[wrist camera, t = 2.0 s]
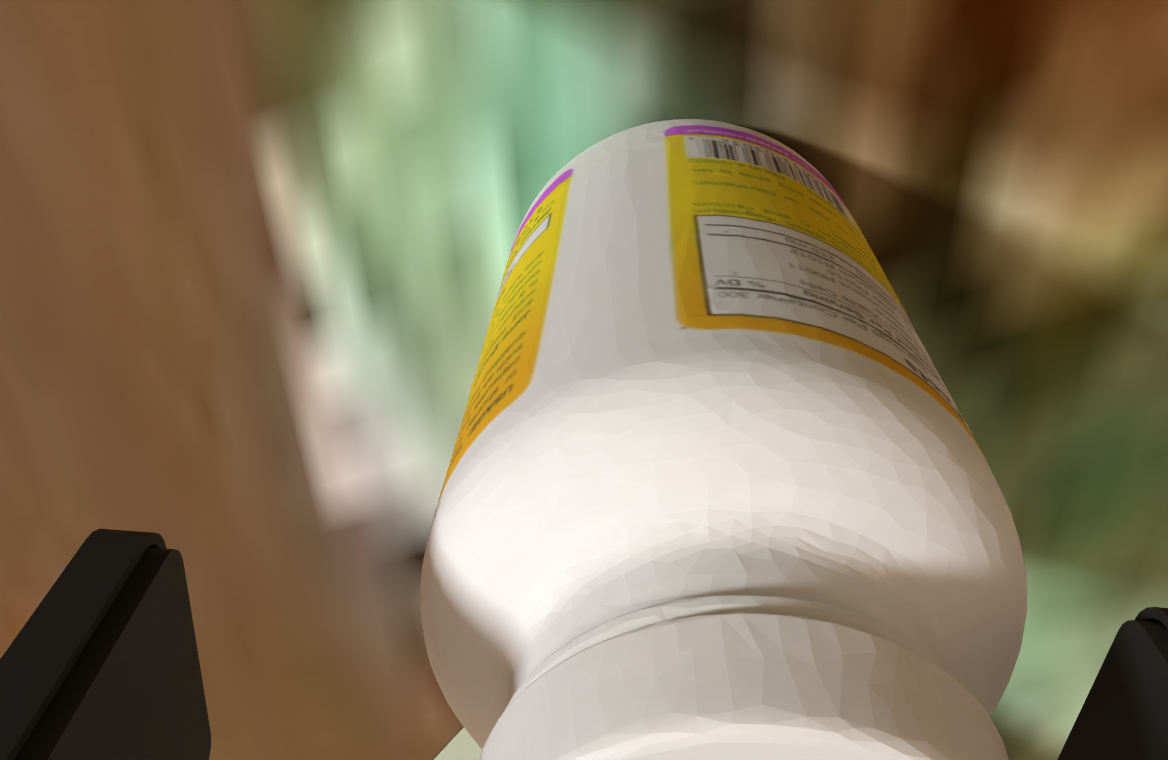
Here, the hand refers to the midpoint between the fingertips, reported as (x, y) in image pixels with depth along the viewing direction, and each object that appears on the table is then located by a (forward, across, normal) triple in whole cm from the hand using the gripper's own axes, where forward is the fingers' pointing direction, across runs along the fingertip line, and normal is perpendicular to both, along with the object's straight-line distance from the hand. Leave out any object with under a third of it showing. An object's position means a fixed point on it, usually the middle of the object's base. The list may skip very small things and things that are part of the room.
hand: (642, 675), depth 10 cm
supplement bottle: (+10, -1, 0) cm, 11 cm away
